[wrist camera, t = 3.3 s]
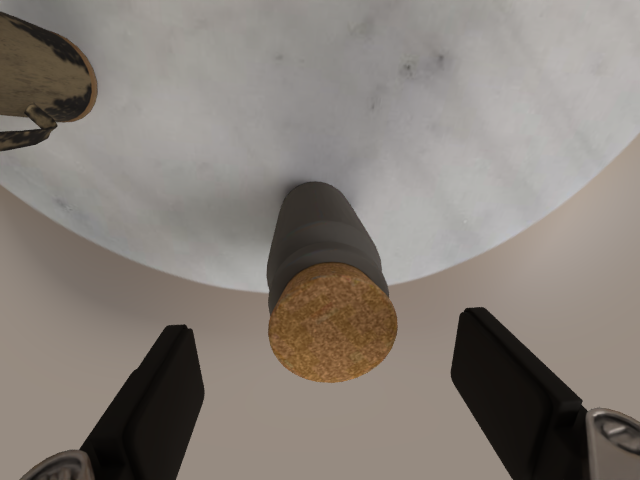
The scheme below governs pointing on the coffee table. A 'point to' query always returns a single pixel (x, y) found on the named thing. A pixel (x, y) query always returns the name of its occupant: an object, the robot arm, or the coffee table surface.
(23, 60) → the mug
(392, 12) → the coffee table surface
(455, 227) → the coffee table surface
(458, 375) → the robot arm
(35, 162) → the coffee table surface
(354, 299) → the bottle
